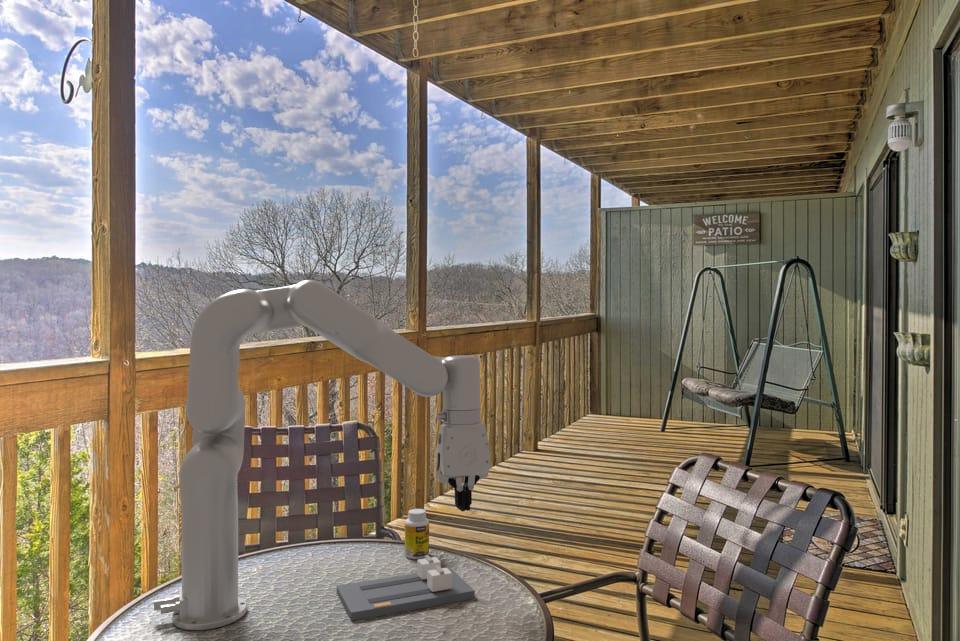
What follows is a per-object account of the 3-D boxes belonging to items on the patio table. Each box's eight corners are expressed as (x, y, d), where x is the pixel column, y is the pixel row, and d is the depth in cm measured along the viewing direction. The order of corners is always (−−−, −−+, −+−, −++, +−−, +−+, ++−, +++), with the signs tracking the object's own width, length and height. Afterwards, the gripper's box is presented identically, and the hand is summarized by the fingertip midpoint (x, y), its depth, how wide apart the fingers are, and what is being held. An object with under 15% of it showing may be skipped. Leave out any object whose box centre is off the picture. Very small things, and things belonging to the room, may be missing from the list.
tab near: (432, 591, 125) (432, 573, 125) (427, 586, 128) (427, 567, 128) (451, 588, 127) (451, 569, 127) (446, 582, 130) (446, 564, 130)
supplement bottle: (414, 562, 146) (414, 516, 146) (399, 555, 150) (399, 510, 150) (434, 555, 150) (434, 511, 150) (418, 549, 154) (419, 506, 154)
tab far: (421, 579, 131) (421, 561, 131) (417, 574, 134) (417, 556, 134) (440, 576, 133) (440, 558, 133) (435, 571, 135) (435, 554, 135)
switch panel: (351, 621, 117) (351, 612, 117) (336, 593, 129) (336, 585, 129) (474, 598, 127) (474, 590, 127) (450, 574, 139) (450, 567, 139)
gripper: (433, 423, 124) (434, 519, 124) (503, 417, 130) (505, 509, 131) (420, 417, 131) (421, 509, 131) (488, 412, 137) (489, 499, 137)
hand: (463, 509), depth 131 cm, fingers closed
